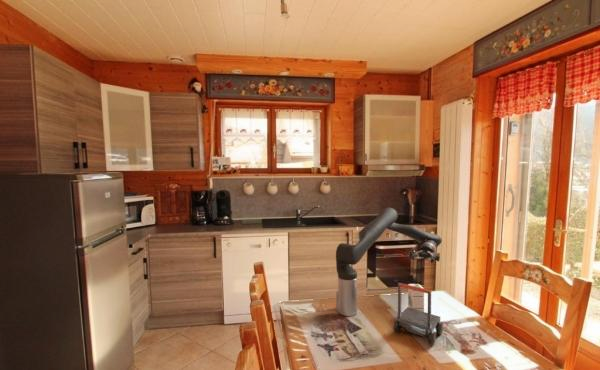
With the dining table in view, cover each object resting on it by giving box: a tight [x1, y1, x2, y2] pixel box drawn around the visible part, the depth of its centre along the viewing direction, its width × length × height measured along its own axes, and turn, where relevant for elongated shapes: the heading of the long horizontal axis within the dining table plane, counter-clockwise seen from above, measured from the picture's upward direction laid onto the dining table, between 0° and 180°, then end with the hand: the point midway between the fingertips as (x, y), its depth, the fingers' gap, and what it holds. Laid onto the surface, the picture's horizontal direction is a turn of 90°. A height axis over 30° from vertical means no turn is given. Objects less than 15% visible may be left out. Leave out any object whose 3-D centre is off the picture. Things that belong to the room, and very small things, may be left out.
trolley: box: [393, 282, 444, 346], centre depth 125 cm, size 15×15×21 cm
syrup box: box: [407, 283, 425, 312], centre depth 139 cm, size 6×6×14 cm
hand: (422, 259), depth 147 cm, fingers open, 8 cm apart
